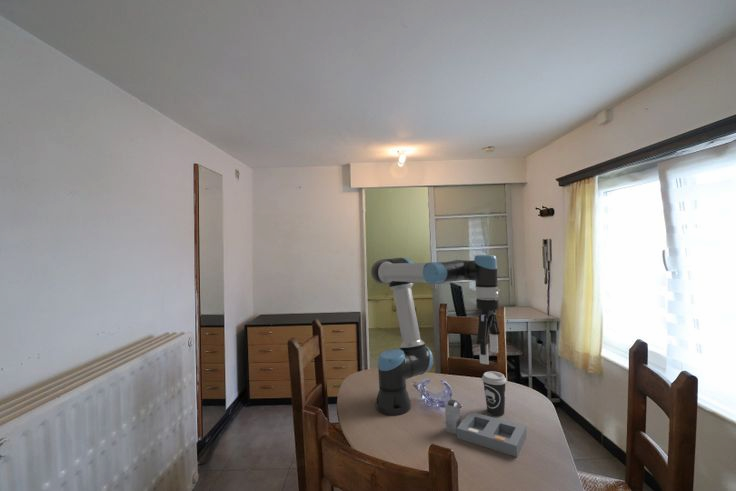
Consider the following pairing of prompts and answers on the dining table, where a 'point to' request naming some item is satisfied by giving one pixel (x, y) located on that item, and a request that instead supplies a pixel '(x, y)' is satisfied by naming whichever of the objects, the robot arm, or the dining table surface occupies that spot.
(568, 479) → the dining table surface
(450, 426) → the plug
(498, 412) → the coffee cup
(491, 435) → the socket board
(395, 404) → the robot arm
